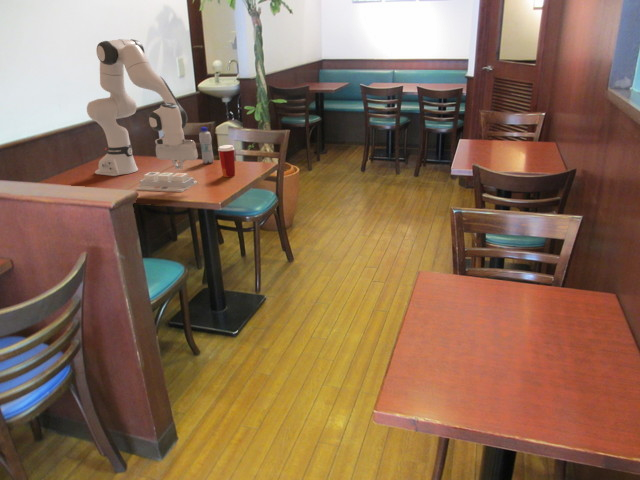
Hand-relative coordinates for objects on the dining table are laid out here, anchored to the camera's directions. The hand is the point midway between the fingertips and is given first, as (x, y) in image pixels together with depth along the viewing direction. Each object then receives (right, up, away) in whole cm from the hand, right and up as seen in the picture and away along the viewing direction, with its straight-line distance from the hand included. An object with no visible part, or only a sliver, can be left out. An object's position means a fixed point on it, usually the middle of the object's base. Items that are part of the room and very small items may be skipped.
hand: (179, 168), depth 240 cm
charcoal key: (-14, -4, +6) cm, 16 cm away
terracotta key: (0, -5, +2) cm, 6 cm away
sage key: (-7, -5, +4) cm, 10 cm away
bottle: (+4, +10, +47) cm, 48 cm away
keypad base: (-7, -8, +5) cm, 12 cm away
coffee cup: (+20, -1, +19) cm, 28 cm away
